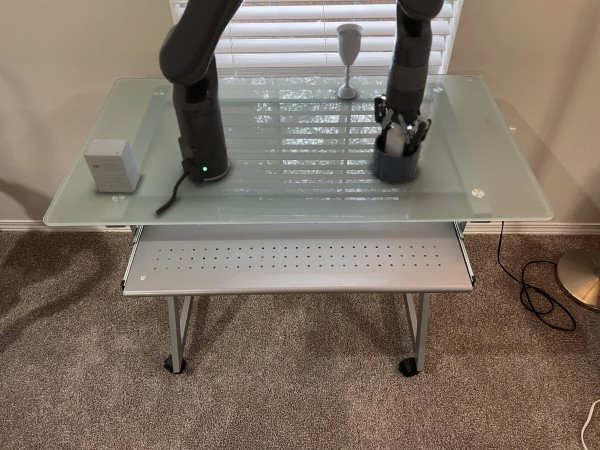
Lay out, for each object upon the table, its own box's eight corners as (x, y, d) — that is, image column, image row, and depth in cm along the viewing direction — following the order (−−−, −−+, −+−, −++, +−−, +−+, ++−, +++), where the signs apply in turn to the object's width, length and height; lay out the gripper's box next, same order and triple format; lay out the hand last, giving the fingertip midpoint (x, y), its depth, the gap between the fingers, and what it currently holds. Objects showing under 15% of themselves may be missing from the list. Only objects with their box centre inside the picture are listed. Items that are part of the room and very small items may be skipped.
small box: (141, 176, 115) (128, 139, 107) (133, 193, 111) (120, 155, 103) (106, 175, 115) (92, 138, 108) (98, 192, 111) (82, 154, 104)
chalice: (357, 102, 135) (361, 37, 122) (332, 100, 136) (334, 35, 123) (360, 88, 140) (365, 24, 127) (336, 85, 141) (338, 22, 128)
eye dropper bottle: (385, 170, 112) (392, 125, 104) (382, 154, 116) (389, 110, 107) (405, 170, 112) (413, 125, 103) (401, 154, 116) (409, 110, 107)
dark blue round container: (395, 189, 110) (399, 164, 105) (362, 167, 116) (364, 142, 111) (425, 169, 115) (430, 144, 110) (392, 149, 120) (395, 124, 115)
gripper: (367, 72, 101) (360, 140, 113) (422, 101, 94) (409, 171, 106) (392, 59, 105) (383, 127, 117) (448, 87, 97) (432, 156, 109)
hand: (396, 148), depth 111 cm, fingers closed on eye dropper bottle, 5 cm apart
